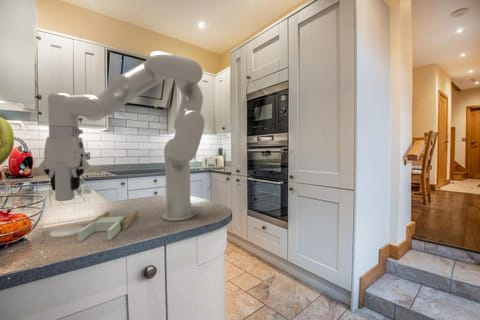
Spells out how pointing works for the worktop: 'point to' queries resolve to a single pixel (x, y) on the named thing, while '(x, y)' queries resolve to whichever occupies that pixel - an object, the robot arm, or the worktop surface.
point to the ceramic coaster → (66, 231)
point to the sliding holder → (102, 227)
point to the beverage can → (63, 182)
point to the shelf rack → (126, 222)
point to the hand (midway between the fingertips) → (65, 188)
